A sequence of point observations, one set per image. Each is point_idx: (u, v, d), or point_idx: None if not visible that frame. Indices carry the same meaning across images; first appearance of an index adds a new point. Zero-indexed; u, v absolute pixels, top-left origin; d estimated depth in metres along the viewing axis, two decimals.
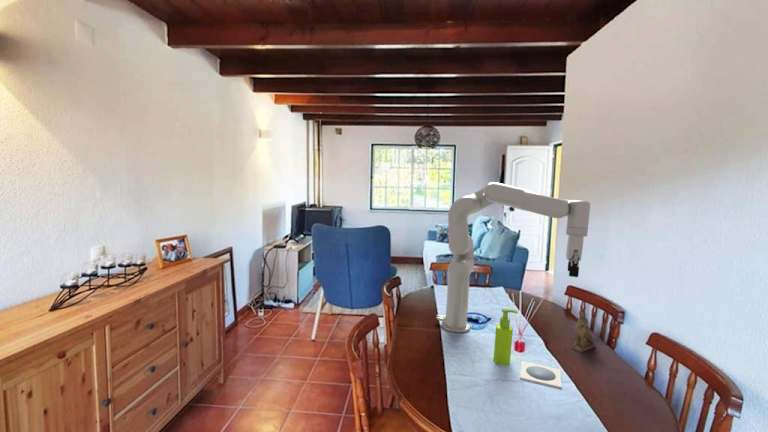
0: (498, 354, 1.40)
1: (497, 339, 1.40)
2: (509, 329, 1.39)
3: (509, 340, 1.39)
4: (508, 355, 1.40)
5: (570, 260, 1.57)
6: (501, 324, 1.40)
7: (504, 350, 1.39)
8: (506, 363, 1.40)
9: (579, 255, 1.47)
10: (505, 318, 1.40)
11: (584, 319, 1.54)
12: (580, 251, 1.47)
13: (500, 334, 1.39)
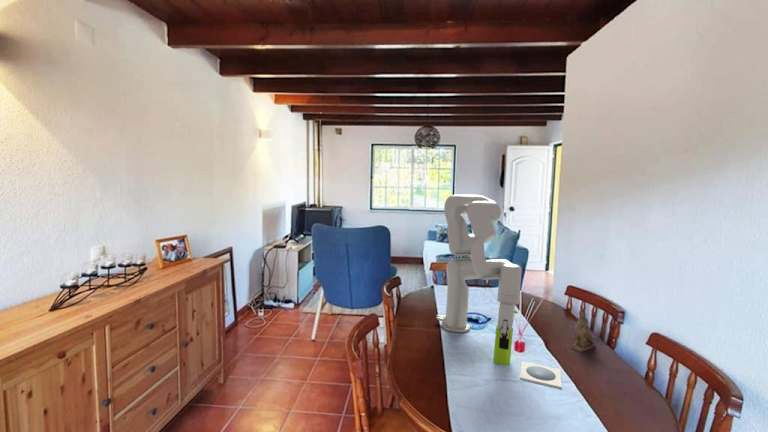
0: (498, 354, 1.40)
1: (497, 339, 1.40)
2: None
3: (509, 340, 1.39)
4: (508, 355, 1.40)
5: None
6: None
7: (505, 349, 1.39)
8: (506, 363, 1.40)
9: (509, 328, 1.36)
10: None
11: (584, 319, 1.54)
12: (510, 321, 1.36)
13: None
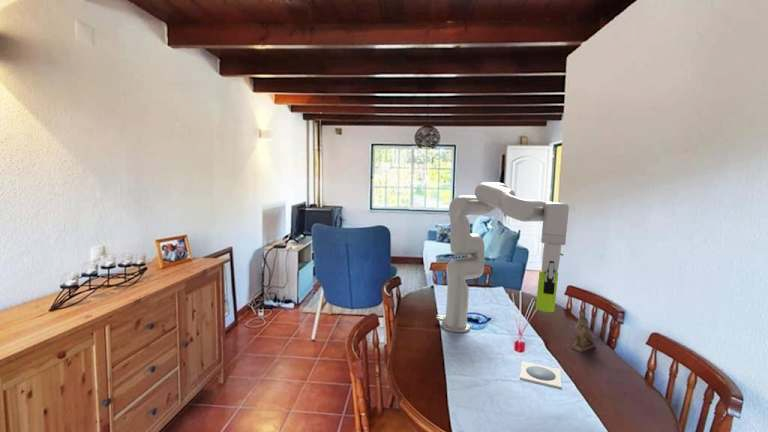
0: (542, 300, 1.29)
1: (541, 284, 1.29)
2: None
3: None
4: (553, 301, 1.29)
5: None
6: None
7: (549, 295, 1.28)
8: (551, 310, 1.29)
9: (555, 270, 1.25)
10: None
11: (584, 319, 1.54)
12: (556, 262, 1.25)
13: (545, 277, 1.28)
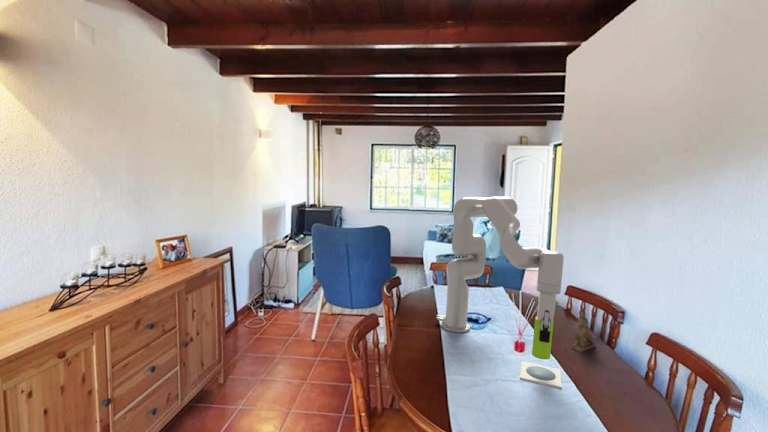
0: (538, 348, 1.31)
1: (537, 331, 1.31)
2: None
3: (550, 332, 1.30)
4: (549, 349, 1.30)
5: None
6: None
7: (545, 343, 1.30)
8: (546, 357, 1.30)
9: (550, 319, 1.27)
10: None
11: (584, 319, 1.54)
12: (552, 312, 1.26)
13: None
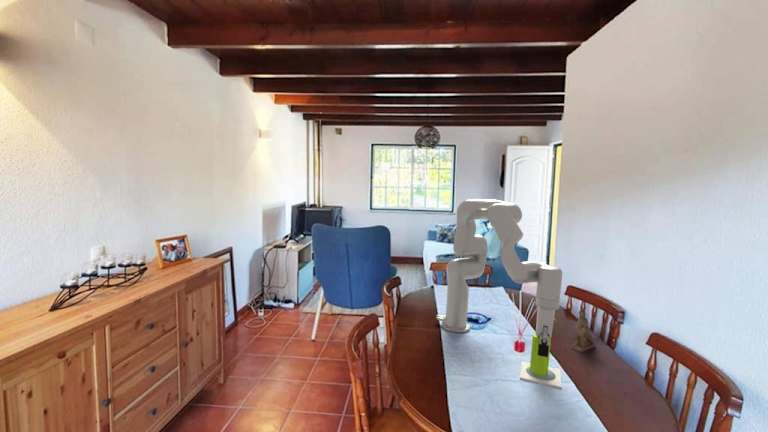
0: (535, 365, 1.32)
1: (534, 348, 1.32)
2: None
3: None
4: (546, 366, 1.31)
5: None
6: None
7: (543, 360, 1.31)
8: (544, 374, 1.32)
9: (549, 332, 1.27)
10: (543, 326, 1.32)
11: (584, 319, 1.54)
12: (550, 327, 1.27)
13: (538, 343, 1.31)
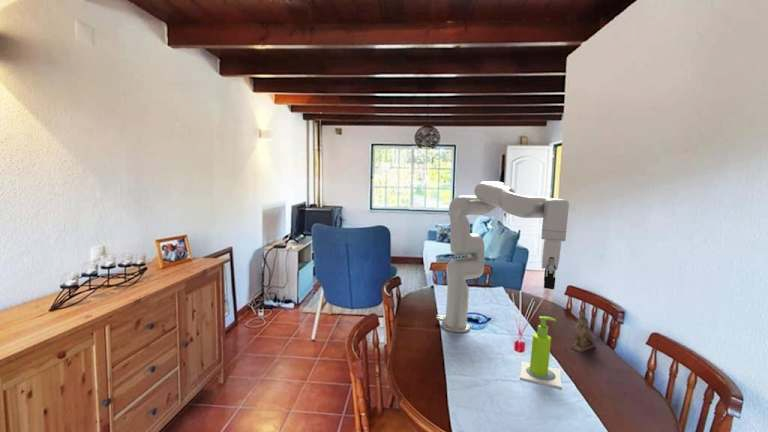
0: (536, 365, 1.32)
1: (534, 349, 1.32)
2: (548, 338, 1.31)
3: (548, 350, 1.31)
4: (546, 366, 1.31)
5: None
6: (539, 333, 1.32)
7: (543, 360, 1.31)
8: (544, 374, 1.32)
9: (555, 263, 1.25)
10: (543, 326, 1.32)
11: (584, 319, 1.54)
12: (557, 259, 1.25)
13: (538, 343, 1.31)
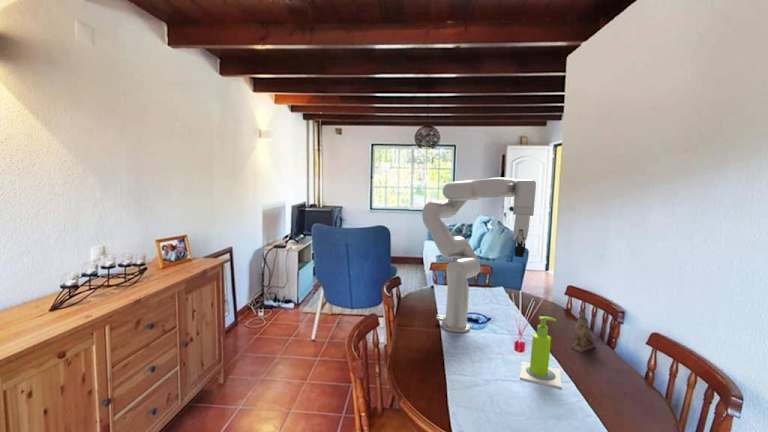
0: (535, 365, 1.32)
1: (534, 349, 1.32)
2: (547, 338, 1.31)
3: (547, 350, 1.31)
4: (546, 366, 1.31)
5: None
6: (539, 333, 1.32)
7: (543, 360, 1.31)
8: (544, 374, 1.32)
9: (524, 235, 1.45)
10: (543, 326, 1.31)
11: (584, 319, 1.54)
12: (525, 231, 1.45)
13: (538, 343, 1.31)
